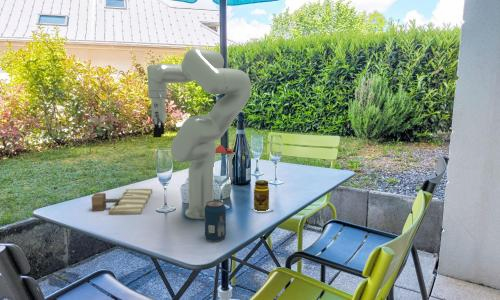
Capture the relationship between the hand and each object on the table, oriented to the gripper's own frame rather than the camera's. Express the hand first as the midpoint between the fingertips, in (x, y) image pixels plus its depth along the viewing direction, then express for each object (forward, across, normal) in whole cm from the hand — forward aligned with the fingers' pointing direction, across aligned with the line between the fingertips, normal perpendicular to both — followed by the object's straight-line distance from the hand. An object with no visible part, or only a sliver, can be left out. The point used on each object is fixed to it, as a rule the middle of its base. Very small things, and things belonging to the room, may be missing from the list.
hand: (159, 135), depth 156 cm
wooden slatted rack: (+28, -3, +12) cm, 31 cm away
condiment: (+29, -16, -42) cm, 53 cm away
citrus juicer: (+28, +25, -26) cm, 46 cm away
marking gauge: (+28, -11, +20) cm, 36 cm away
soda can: (+28, -43, -23) cm, 56 cm away
